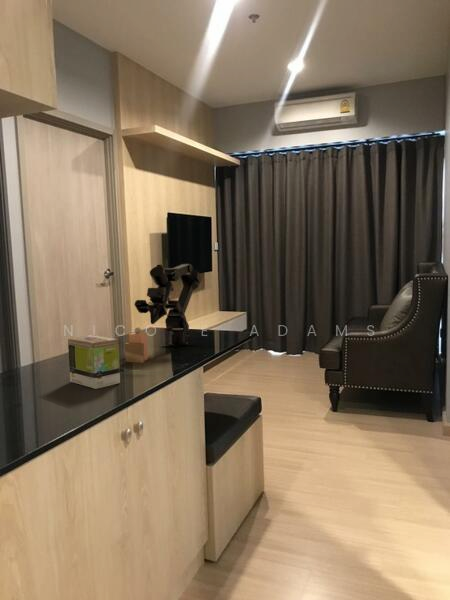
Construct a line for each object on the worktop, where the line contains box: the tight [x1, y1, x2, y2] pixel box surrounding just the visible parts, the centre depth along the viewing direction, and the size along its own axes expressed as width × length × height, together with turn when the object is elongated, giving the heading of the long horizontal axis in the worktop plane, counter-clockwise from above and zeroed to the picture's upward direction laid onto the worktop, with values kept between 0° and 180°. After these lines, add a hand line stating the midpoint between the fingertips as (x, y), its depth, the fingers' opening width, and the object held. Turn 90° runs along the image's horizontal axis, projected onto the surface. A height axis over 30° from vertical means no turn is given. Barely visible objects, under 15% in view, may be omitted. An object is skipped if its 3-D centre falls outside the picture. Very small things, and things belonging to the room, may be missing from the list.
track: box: [124, 342, 146, 364], centre depth 198 cm, size 17×7×8 cm, turn 161°
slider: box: [128, 327, 149, 361], centre depth 193 cm, size 4×5×12 cm
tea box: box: [67, 334, 121, 390], centre depth 168 cm, size 15×10×15 cm
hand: (152, 323), depth 204 cm, fingers closed
